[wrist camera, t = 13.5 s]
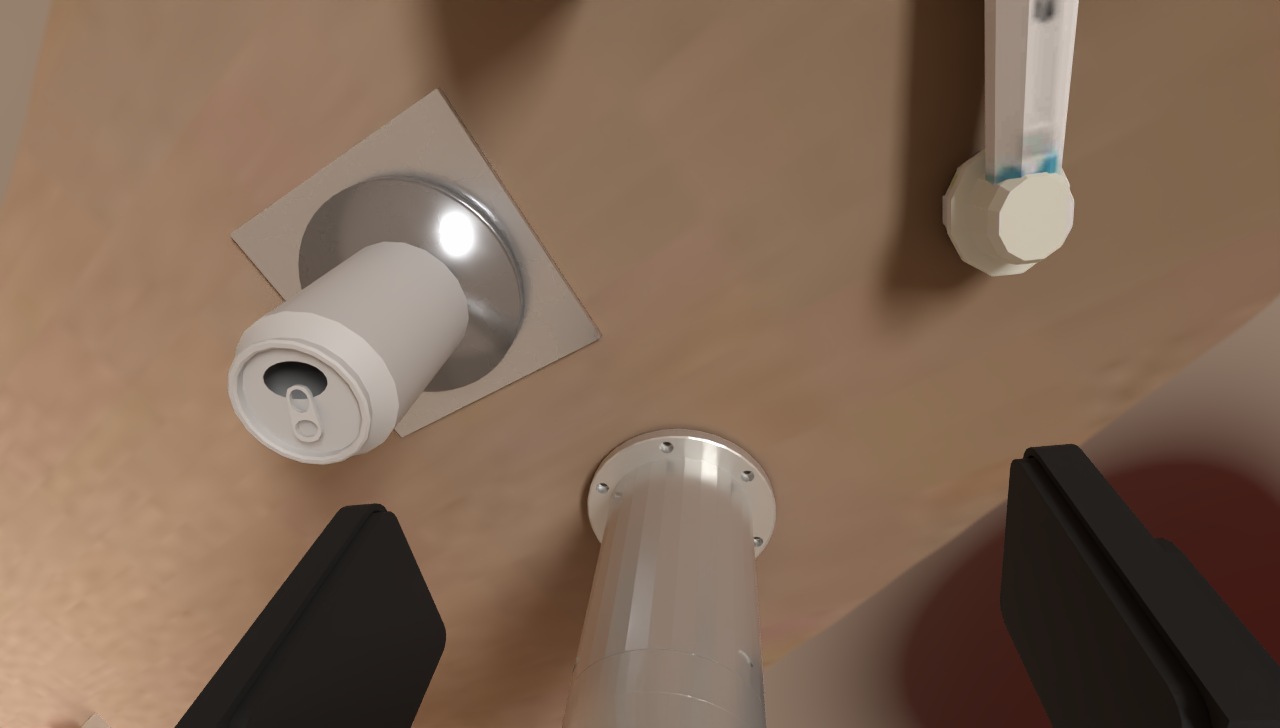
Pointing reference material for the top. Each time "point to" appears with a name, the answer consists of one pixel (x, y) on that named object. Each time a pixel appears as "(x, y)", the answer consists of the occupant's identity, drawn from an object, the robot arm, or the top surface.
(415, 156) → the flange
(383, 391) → the can
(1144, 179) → the top surface
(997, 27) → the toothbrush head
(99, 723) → the architectural model
